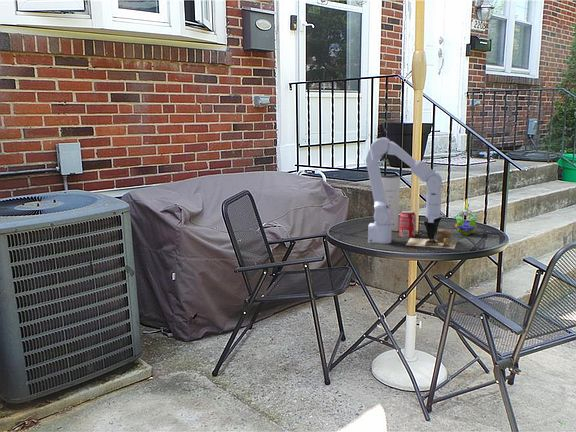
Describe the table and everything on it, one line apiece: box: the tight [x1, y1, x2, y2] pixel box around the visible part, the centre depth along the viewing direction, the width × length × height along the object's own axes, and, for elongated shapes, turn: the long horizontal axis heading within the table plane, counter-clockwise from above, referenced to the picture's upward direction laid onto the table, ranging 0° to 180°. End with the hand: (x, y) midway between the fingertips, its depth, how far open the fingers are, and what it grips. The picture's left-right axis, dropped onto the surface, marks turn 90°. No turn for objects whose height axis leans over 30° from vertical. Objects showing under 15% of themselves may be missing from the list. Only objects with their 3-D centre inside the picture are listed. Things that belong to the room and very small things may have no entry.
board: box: [405, 237, 458, 250], centre depth 212 cm, size 19×14×4 cm
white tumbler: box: [381, 175, 401, 232], centre depth 239 cm, size 11×10×26 cm
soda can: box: [398, 209, 417, 238], centre depth 226 cm, size 7×7×12 cm
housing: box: [436, 228, 452, 243], centre depth 214 cm, size 5×5×5 cm
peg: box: [429, 235, 436, 243], centre depth 209 cm, size 2×2×5 cm
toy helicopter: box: [454, 198, 478, 236], centre depth 229 cm, size 25×9×15 cm, turn 162°
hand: (432, 236), depth 210 cm, fingers open, 7 cm apart
